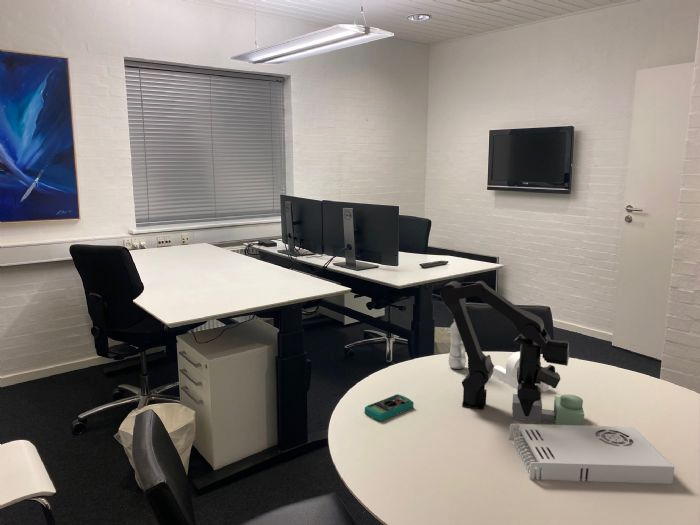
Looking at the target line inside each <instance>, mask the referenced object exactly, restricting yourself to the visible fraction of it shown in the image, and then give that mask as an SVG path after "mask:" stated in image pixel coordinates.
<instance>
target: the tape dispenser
mask: <svg viewBox="0 0 700 525" xmlns="http://www.w3.org/2000/svg"><path fill="white" fill-rule="evenodd" d="M519 358H520V351H515V352H514V353H512V354H511V355H510V356H509V357H508V359H507V361H506V363H505V368H504V367H503V366H500V365H494V368H493V374H492V376H491V377H493V378H495V379H496V378H497V380H499V381H500V382H503V384H507V385H508V386H510V387H511V388H512V389H513V388H514V389H515V390H517V388H518V385H519V384H518V381H517V368H518V367H519ZM535 385H538V386H539V387H540V389H541V392H542V393H544V392H549V387H550V386H549V385H547V384H545V383H543V382H541V383H540V384H535Z"/></svg>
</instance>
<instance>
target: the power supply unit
mask: <svg viewBox="0 0 700 525" xmlns="http://www.w3.org/2000/svg"><path fill="white" fill-rule="evenodd" d="M514 430H515V432H514ZM518 433H519V436H518ZM508 434H509V436H508V440H510V441H511V444H512V445H513V447H514V449H515V451H516V453H517V455H518V456H519V458H520V461H521V463H522V464H523V466H524V468H525V470H526V472H527V473H528V475H529V479H528V480H535V479H536V480H540V479H541V480H542V481H543V480H544V481H545V480H546V481H569V482H574V481H575V482H580V481H582V482H586V481H587V482H601V483H602V482H604V483H608V482H609V483H635V484H637V483H639V484H663V485H665V484H667V485H669V484H670V485H671V484H673V481H674V475H675V474H674V472H675V465H674V464H673V463H672V462H671V461H670V460H669V459H667V457H666V456H665V455H664V454H663V453H662V452H660V450H659V449H657V447H656V446H655V445H653V444H652V442H651V441H649V440H648V439H647V438H646V436H644V435H643V434H642V433H641V432H640V430H638V429H637V428H636V427H635V426H614V425H611V426H610V425H583V426H581V425H556V424H540V423H539V424H537V423H536V424H534V423H533V424H532V423H530V424H529V423H510V425H509V433H508Z"/></svg>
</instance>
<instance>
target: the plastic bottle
mask: <svg viewBox="0 0 700 525" xmlns="http://www.w3.org/2000/svg"><path fill="white" fill-rule="evenodd" d="M449 336H450V337H449V338H450V348H449V349H450V350H449V356H448V360H447V361H448V365H449V367H450V368H451V369H455V370H462V369H464V368H465V367H466V364H467V358H466V356H467V355H466V351H465V348H464V345H463V342H462V339H461V337H460V334H459V331H458V328H457V326H456V323H455V320H454V319H453V323H452V324H451V325H450V327H449Z"/></svg>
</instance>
